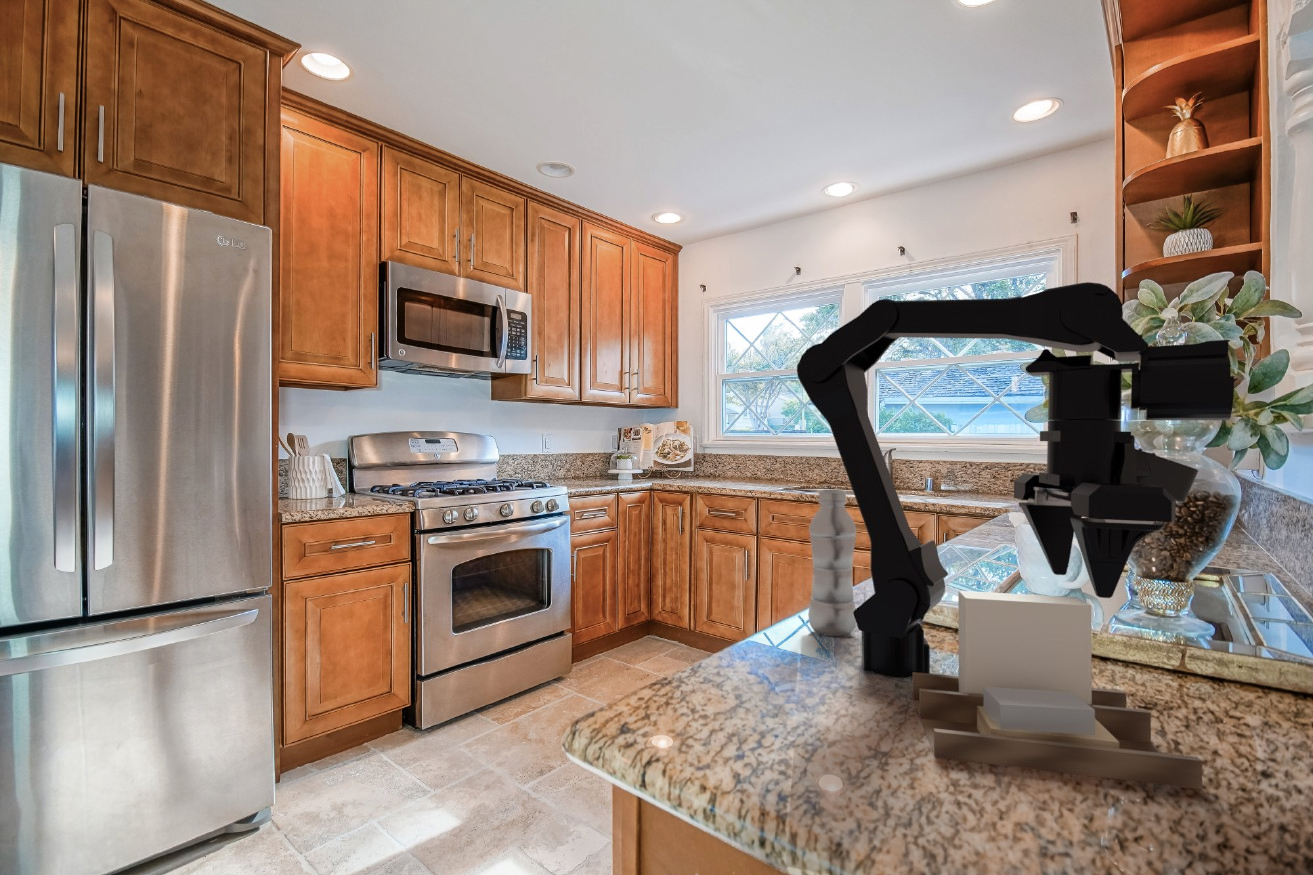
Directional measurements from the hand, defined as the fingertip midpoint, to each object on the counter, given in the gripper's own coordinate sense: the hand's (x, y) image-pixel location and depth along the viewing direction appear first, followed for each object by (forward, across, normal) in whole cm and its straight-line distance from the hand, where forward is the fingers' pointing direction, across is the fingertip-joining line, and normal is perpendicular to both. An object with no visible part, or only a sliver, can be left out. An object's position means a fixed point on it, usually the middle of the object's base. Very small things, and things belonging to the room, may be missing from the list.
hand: (1080, 585), depth 59 cm
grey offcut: (+10, -9, +7) cm, 15 cm away
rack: (+13, -6, +6) cm, 16 cm away
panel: (+12, -4, +6) cm, 14 cm away
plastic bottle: (+14, +23, +21) cm, 34 cm away
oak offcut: (+12, -9, +6) cm, 16 cm away
